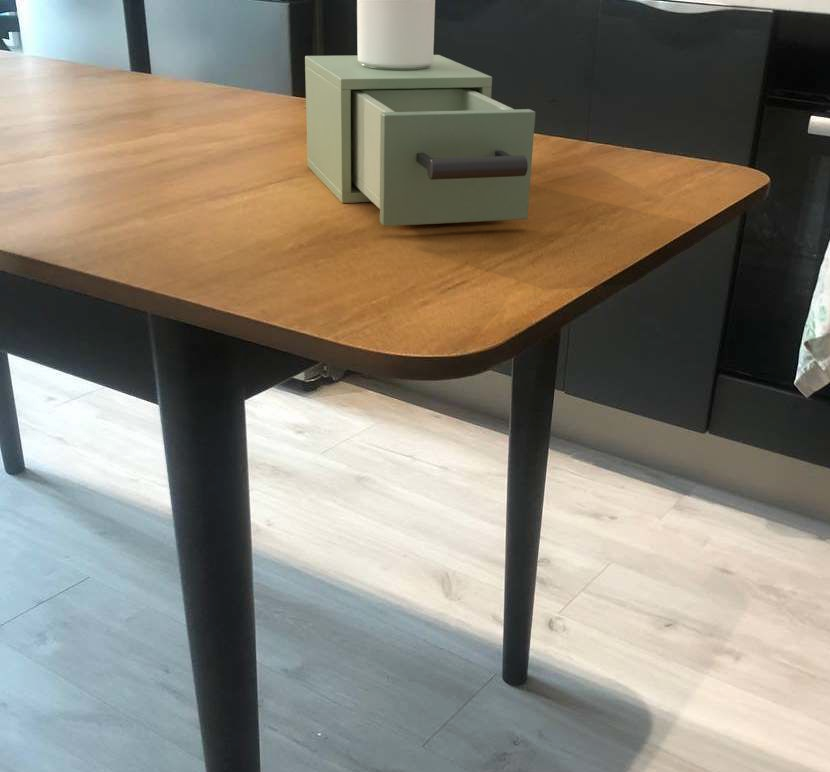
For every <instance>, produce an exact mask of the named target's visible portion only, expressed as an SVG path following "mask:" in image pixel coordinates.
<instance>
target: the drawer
mask: <svg viewBox="0 0 830 772" xmlns="http://www.w3.org/2000/svg"><path fill="white" fill-rule="evenodd" d="M535 123H536V111H534V110H532V109H530V108H526V109H525V108H522V109H520V108H519V109H518V108H517V109H514V108H513V107H511V106H508V105H506V104H504V103H502V102H499V101H497V100H495V99H493V98H492V97H491V98H489V97H487V96H484V95H482V94H480V93H478V92H476V91H474V90H472V89H470V88H411V89H351V182H352V183H353V184H354V185H355V186H356V187H357V188H358V189H359V190H360V191H361V192H362V193H364V194H365V195H366V196H367V197H368V198H369V199H370V200H371V201H372V202H371V203H373V204H374V205H375V206H376V207H377V209H379V224H381V225H382V226H383V227H398V226H420V225H439V224H458V223H459V224H461V223H478V222H479V223H480V222H497V221H499V222H500V221H516V220H517V221H518V220H521V221H522V220H528V216H529V202H530V190H531V176H532V164H533V152H534V151H533V149H534V138H535V137H534V136H535Z"/></svg>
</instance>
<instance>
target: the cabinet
mask: <svg viewBox="0 0 830 772" xmlns="http://www.w3.org/2000/svg"><path fill="white" fill-rule="evenodd" d="M304 72H305V73H304V74H305V75H304V76H305V107H306V108H305V115H306V117H305V119H306V121H305V122H306V157H307V159H306V160H307V161H306V162H307V168H309V170H310V171H312V173H313V174H314V175H315V176H316V177H317V178H318V179H319V180H320V181H321V182H322V184H324V186H325V187H326V188H327V189H328V190H329V191H330V192H331V193H332V194H333V196H335V198H337V199H338V200H339V202H341V204H351V203H352V204H353V203H373V202H372V201H371V200H370V199H369V198H368V197H367V196H366V195H365V194H364V193H362V192H361V191H360V190H359V189H358V188H357V187H356V186H355V185H354V184H353V183H352V182H351V89H411V88H470V89H472V90H474V91H476V92H478V93H480V94H482V95H484V96H487V97H489V98H491V99H492V89H493V88H492V87H493V77H492V76H491V75H488V74H486V73H484V72H482V71H479V70H477V69H474V68H472V67H469V66H467V65H464V64H462V63H459V62H457V61H455V60H452V59H451V58H447V57H445V56H442V55H441V54H433V62H432V63H431V64H430V66H429V67H428V68H425V69H418V70H382V69H373V68H367V67H364V66H362V65H361V63H360V62H359V61H358V54H357V55H305V56H304Z"/></svg>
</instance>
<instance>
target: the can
mask: <svg viewBox="0 0 830 772" xmlns="http://www.w3.org/2000/svg"><path fill="white" fill-rule="evenodd" d="M435 18H436V0H356V27H357V28H356V29H357V30H356V32H357V33H356V36H357V37H356V38H357V39H356V41H357V45H356V46H357V55H358V61H359V62H360V63H361V65H362V66H364V67H367V68H373V69H382V70H418V69H425V68H428V67H429V66H430V64H431V63H432V62H433V55H434V45H435Z"/></svg>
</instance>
